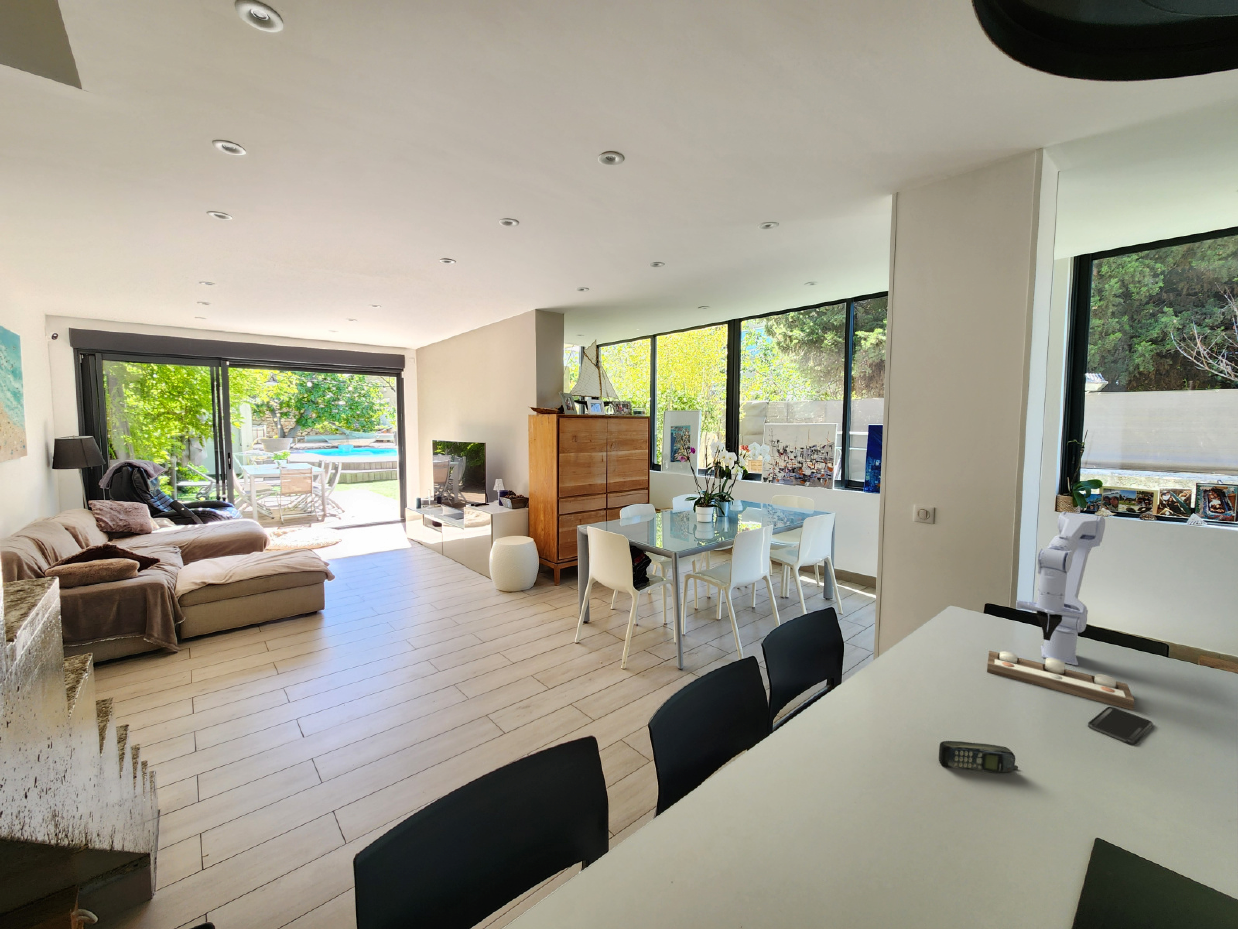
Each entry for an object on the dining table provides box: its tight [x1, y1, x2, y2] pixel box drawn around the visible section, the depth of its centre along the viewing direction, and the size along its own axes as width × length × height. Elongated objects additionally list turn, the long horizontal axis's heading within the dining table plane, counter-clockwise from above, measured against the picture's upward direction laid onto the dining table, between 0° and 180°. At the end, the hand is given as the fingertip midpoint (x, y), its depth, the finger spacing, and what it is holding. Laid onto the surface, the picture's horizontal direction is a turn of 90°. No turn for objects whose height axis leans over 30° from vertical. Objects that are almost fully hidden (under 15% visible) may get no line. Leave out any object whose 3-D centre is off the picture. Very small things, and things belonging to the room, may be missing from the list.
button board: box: [986, 650, 1135, 711], centre depth 136 cm, size 10×29×2 cm, turn 52°
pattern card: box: [994, 659, 1125, 698], centre depth 134 cm, size 4×26×1 cm, turn 52°
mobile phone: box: [938, 740, 1019, 774], centre depth 102 cm, size 5×3×15 cm
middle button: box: [1044, 658, 1066, 674], centre depth 137 cm, size 4×4×2 cm
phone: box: [1087, 706, 1154, 746], centre depth 117 cm, size 8×1×15 cm
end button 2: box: [999, 650, 1019, 664], centre depth 144 cm, size 4×4×2 cm
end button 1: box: [1094, 673, 1117, 689], centre depth 131 cm, size 4×4×2 cm
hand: (1046, 639), depth 141 cm, fingers closed
